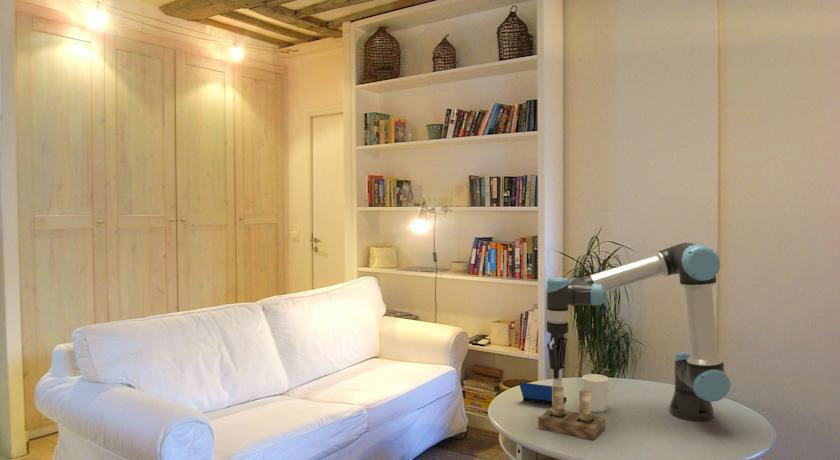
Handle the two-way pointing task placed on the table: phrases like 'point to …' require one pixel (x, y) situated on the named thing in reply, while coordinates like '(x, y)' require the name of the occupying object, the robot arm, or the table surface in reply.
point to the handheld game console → (537, 393)
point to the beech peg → (557, 402)
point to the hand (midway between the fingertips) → (557, 386)
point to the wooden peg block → (575, 420)
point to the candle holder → (597, 391)
